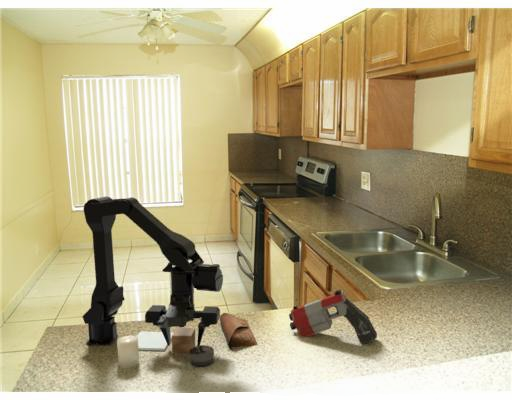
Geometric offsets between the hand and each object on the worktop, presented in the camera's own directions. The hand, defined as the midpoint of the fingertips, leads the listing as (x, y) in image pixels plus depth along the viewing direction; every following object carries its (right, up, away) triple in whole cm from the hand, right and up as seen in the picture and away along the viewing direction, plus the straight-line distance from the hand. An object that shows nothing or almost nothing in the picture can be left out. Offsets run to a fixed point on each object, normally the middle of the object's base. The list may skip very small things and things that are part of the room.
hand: (183, 345), depth 118 cm
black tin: (+5, -2, -6) cm, 9 cm away
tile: (-10, -1, +5) cm, 11 cm away
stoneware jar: (-13, -2, -7) cm, 14 cm away
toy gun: (+40, 0, +8) cm, 41 cm away
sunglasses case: (+14, 0, +10) cm, 17 cm away
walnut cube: (0, -1, 0) cm, 1 cm away
